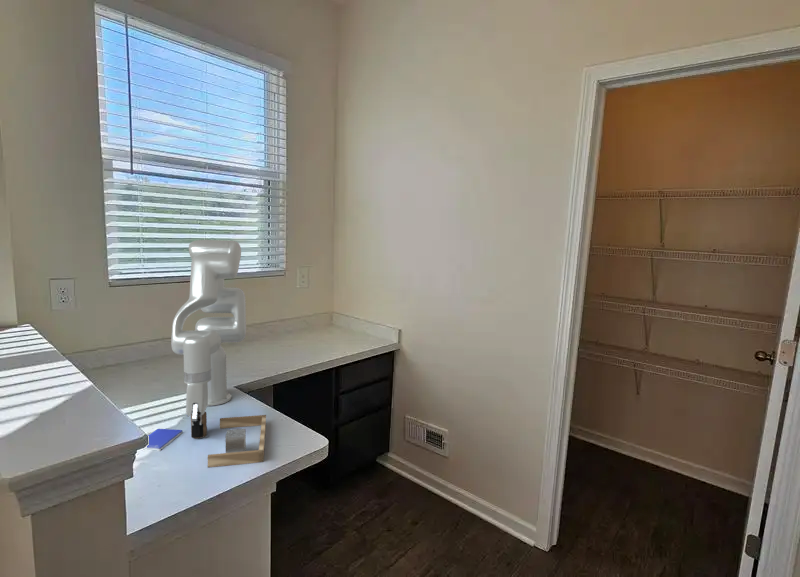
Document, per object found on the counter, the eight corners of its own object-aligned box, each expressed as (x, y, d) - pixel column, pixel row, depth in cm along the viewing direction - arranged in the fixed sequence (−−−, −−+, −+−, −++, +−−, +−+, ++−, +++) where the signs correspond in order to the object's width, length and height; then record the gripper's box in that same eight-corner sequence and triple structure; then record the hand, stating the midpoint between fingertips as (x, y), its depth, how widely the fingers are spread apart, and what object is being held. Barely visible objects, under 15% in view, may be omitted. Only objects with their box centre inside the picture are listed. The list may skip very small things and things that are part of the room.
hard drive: (159, 447, 128) (182, 429, 140) (131, 446, 128) (157, 428, 140) (159, 452, 128) (182, 434, 140) (131, 451, 128) (157, 433, 141)
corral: (220, 427, 145) (220, 418, 144) (266, 423, 149) (266, 414, 148) (207, 467, 119) (207, 456, 119) (263, 461, 123) (263, 451, 123)
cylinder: (192, 433, 140) (192, 411, 139) (207, 431, 141) (207, 410, 140) (190, 439, 136) (189, 417, 135) (205, 438, 137) (205, 415, 136)
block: (227, 449, 130) (227, 430, 129) (245, 448, 131) (245, 428, 130) (225, 457, 125) (225, 436, 125) (244, 455, 127) (244, 435, 126)
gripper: (189, 368, 143) (191, 423, 145) (178, 385, 127) (180, 446, 129) (214, 367, 145) (215, 421, 147) (206, 384, 129) (208, 444, 131)
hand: (199, 432), depth 138 cm, fingers closed on cylinder, 4 cm apart
